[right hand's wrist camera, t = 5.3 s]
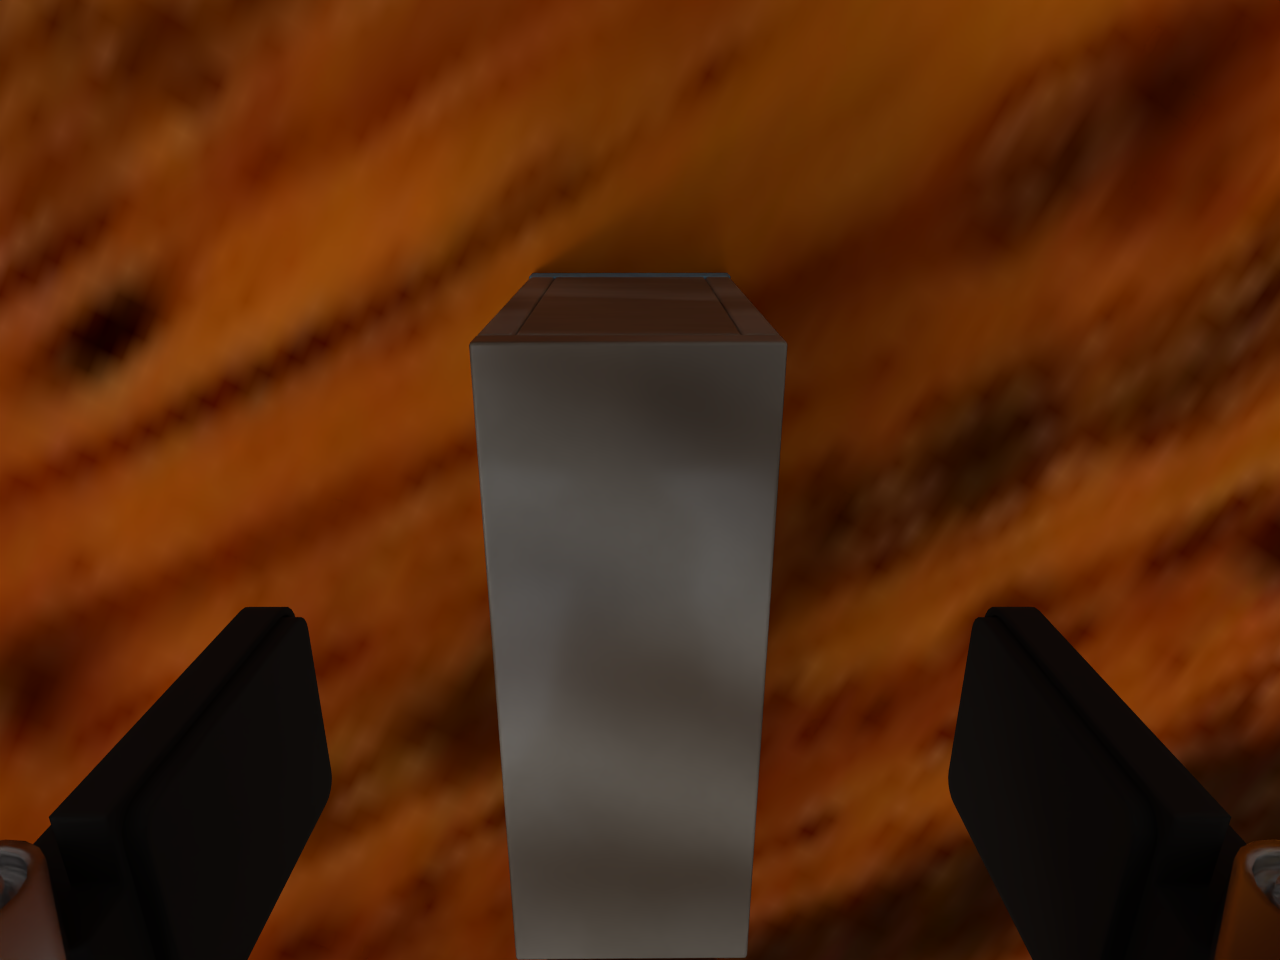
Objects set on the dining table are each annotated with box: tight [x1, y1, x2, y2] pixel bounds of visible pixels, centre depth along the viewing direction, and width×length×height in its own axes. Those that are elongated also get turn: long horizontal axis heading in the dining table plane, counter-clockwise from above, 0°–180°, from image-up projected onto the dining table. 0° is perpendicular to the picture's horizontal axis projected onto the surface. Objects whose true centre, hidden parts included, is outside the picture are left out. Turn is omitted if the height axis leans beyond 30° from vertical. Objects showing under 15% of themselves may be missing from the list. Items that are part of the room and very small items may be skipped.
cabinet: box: [469, 273, 787, 959], centre depth 22 cm, size 16×6×10 cm, turn 0°
